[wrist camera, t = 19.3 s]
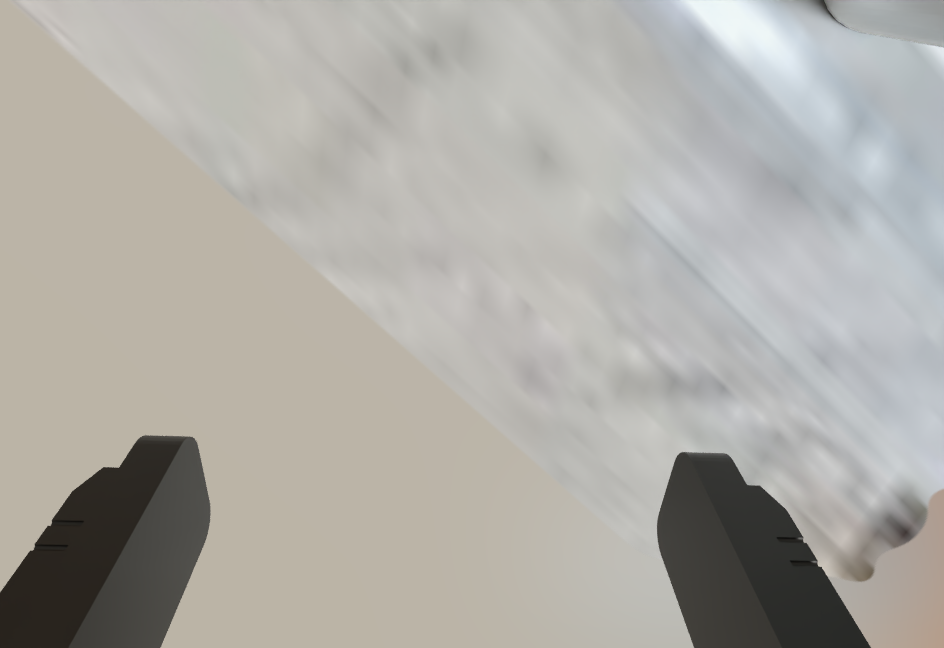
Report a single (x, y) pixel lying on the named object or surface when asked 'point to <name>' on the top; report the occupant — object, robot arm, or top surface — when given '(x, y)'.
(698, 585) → the robot arm
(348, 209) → the top surface
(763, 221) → the top surface
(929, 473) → the top surface
